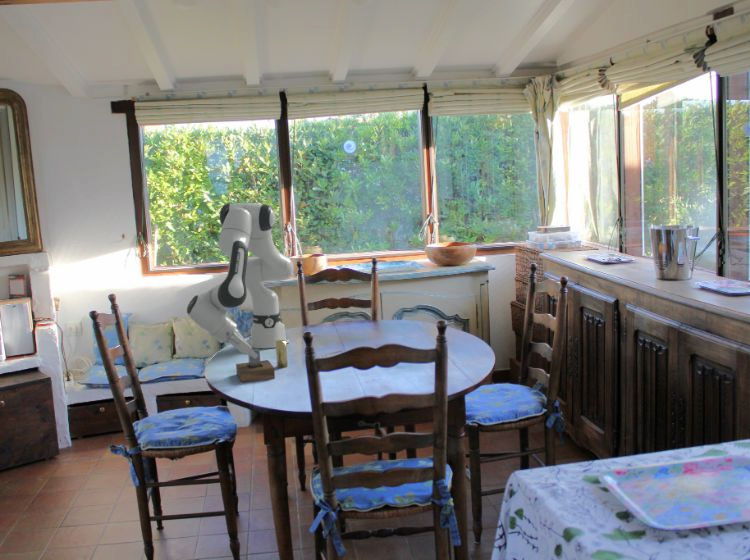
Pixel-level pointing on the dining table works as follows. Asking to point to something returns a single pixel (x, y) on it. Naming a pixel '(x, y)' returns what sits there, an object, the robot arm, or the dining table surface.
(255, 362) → the square bit
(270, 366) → the bore block
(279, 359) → the round bit
